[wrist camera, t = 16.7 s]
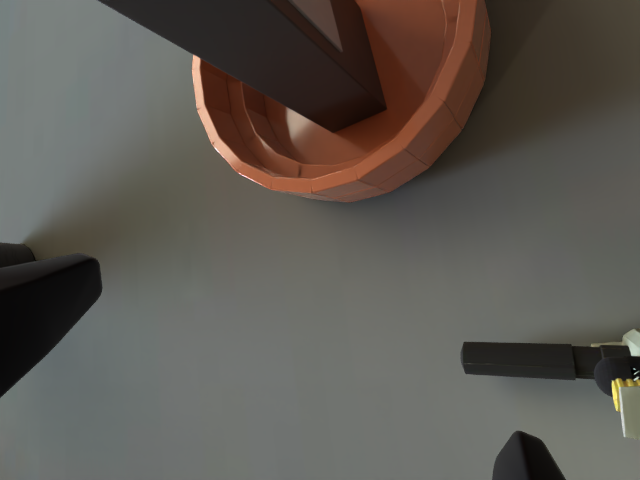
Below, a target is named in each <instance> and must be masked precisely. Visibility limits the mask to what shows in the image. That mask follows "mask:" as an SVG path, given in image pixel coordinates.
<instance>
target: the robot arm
mask: <svg viewBox="0 0 640 480" xmlns="http://www.w3.org/2000/svg"><path fill="white" fill-rule="evenodd" d="M101 292H102V280H101V271H100V264H99V262H98V260H97V259H95V258H93V257H90V256H88V255H85V254H82V253H77V254H71V255H66V256H61V257H56V258H51V259H45V260H40V261H35V262H30V263H24V264H19V265H14V266H9V267H4V268H0V398H1V397H2V396H3V395H4V394H5V393H6V392H7V391H8V390H9V389H10V388H11V387H12V386H14V385H15V384H16V383H17V382H18V381H19V380H20V379H21V378H22V377H23V376H24V375H26V374H27V373H28V372H29V371H30V370H31V369H32V368H33V367H34V366H35V365H36V364H37V363H39V362H40V361H41V360H42V359H43V358H44V357H45V356H46V355H47V354H48V353H49V352H50V351H51V350H52V349H53V348H54V347H55V346H56V345H57V344H58V343H59V341H60V340H61V339H62V338H63V337H64V336H65V335H66V334H67V333H68V332H69V330H70V329H71V328H72V327H73V326H74V325H75V324H76V323H77V322H78V321H79V319H80V318H81V317H82V316H83V315H84V314H85V313H86V312H87V311H88V310H89V308H90V307H91V306H92V305H93V304H94V303H95V302H96V301H97V300H98V298H99V297H100V295H101ZM492 480H566V479H565V477H564V476H563V474H562V472H561V471H560V469H559V467H558V466H557V464H556V462H555V460H554V459H553V457H552V455H551V454H550V452H549V450H548V449H547V447H546V445H545V444H544V443H543V441H542V440H540V439H539V438H537V437H534V436H532V435H529V434H527V433H524V432H522V431H516V432H514V433H513V434H512V436H511V437H510V439H509V440H508V441H507V443H506V444H505V446H504V447H503V449H502V450H501V452H500V453H499V454H498V456H497V458H496V461H495V464H494V469H493V478H492Z"/></svg>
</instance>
